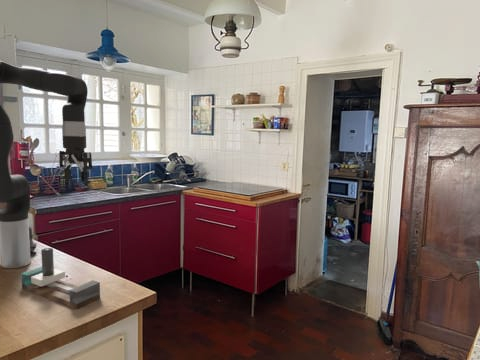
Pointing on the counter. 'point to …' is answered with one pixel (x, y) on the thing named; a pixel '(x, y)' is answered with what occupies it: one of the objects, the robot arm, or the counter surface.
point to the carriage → (47, 270)
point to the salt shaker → (31, 243)
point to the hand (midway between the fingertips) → (76, 180)
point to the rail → (63, 290)
